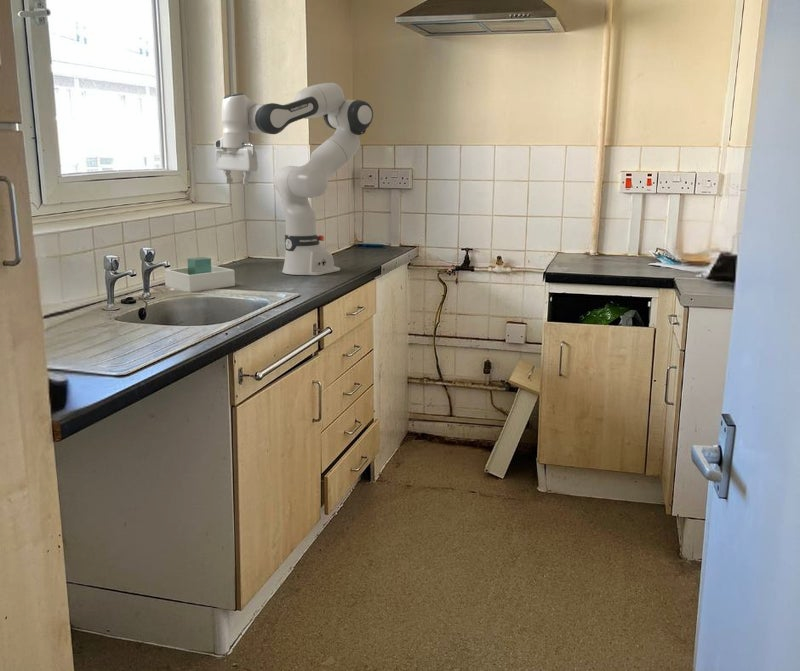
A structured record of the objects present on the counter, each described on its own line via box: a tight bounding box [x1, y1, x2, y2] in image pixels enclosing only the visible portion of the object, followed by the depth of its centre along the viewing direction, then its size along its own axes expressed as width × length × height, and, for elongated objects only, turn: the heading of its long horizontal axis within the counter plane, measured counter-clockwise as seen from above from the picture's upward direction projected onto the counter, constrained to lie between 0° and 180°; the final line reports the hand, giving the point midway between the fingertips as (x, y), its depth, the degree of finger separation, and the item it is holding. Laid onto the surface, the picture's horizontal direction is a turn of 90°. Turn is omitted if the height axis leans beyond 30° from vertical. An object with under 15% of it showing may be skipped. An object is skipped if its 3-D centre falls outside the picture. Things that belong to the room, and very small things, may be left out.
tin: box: [187, 256, 212, 275], centre depth 262 cm, size 6×4×7 cm
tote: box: [164, 264, 236, 293], centre depth 263 cm, size 17×15×6 cm
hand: (237, 184), depth 273 cm, fingers open, 8 cm apart
